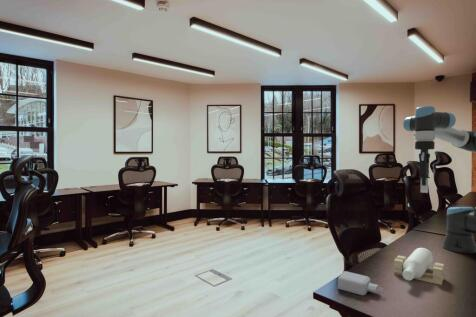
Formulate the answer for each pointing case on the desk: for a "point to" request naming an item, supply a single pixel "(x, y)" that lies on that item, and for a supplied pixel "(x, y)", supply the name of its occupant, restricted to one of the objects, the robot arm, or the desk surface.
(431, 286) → the desk surface
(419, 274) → the bottle
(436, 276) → the bottle rest
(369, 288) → the white flat bottle
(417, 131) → the robot arm
